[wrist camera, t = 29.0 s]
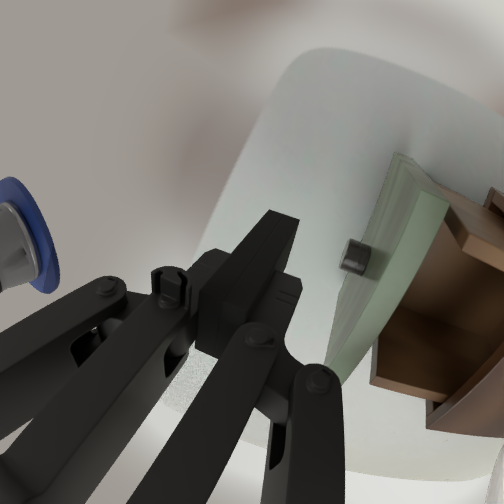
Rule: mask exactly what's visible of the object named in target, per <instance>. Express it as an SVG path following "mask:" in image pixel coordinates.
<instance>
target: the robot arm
mask: <svg viewBox="0 0 504 504" xmlns="http://www.w3.org/2000/svg"><path fill="white" fill-rule="evenodd" d="M299 221H300V220H299V219H296V218H293V217H290V216H287V215H284V214H281V213H278V212H275V211H272V210H268V211H267V213H266V214H265V215H264V216H263V217H262V218H261V219H260V221H259V222H258V223H257V224H256V225H255V226H254V227H253V229H252V230H251V231H250V232H249V233H248V234H247V236H246V237H245V238H244V239H243V240H242V241H241V243H240V244H239V245H238V246H237V247H236V248H235V250H234V251H233V252H232V253H231V254H230V253H227V252H224V251H222V250H219V249H216V248H215V249H212V250H210V251H207V252H205V253H204V254H203V255H202V256H201V257H200V258H199V259H198V260H197V261H196V262H195V263H194V264H193V265H192V267H190V268H189V269H188V270H187V271H185V270H183V269H182V268H178V267H174V266H164V267H160V268H157V269H155V270H153V271H152V272H151V280H152V281H151V283H152V293H151V294H150V295H147V294H140V293H135V292H130V291H127V288H126V284H125V282H124V281H123V280H122V279H120V278H118V277H114V276H103V277H100V278H97V279H95V280H93V281H91V282H90V283H88V284H86V285H84V286H82V287H80V288H78V289H76V290H74V291H73V292H71V293H69V294H67V295H65V296H64V297H62V298H60V299H58V300H56V301H55V302H53V303H51V304H49V305H47V306H46V307H44V308H42V309H40V310H39V311H37V312H35V313H33V314H32V315H30V316H28V317H26V318H25V319H23V320H22V321H20V322H18V323H16V324H15V325H13V326H11V327H9V328H8V329H6V330H4V331H3V332H1V333H0V440H2V439H3V438H5V437H6V436H8V435H9V434H10V433H12V432H13V431H15V430H16V429H18V428H19V427H21V426H22V425H24V424H25V423H26V422H28V421H30V420H31V419H32V418H33V420H32V421H31V422H30V423H29V424H28V426H27V427H26V428H25V429H24V430H23V431H22V433H21V434H20V435H19V436H18V437H17V438H16V440H15V441H14V442H13V443H12V444H11V446H10V447H9V448H8V449H7V451H5V452H4V453H3V454H1V455H0V504H85V503H86V501H87V500H88V498H89V497H90V496H91V494H92V493H93V491H94V490H95V488H96V487H97V486H98V484H99V483H100V482H101V480H102V479H103V478H104V476H105V475H106V473H107V472H108V471H109V469H110V468H111V466H112V465H113V464H114V462H115V461H116V459H117V458H118V457H119V455H120V454H121V452H122V451H123V450H124V448H125V447H126V445H127V444H128V442H129V441H130V440H131V438H132V437H133V435H134V434H135V433H136V431H137V430H138V428H139V427H140V426H141V424H142V422H143V421H144V420H145V418H146V417H147V415H148V414H149V413H150V411H151V410H152V408H153V407H154V406H155V404H156V403H157V401H158V400H159V399H160V397H161V396H162V394H163V393H164V391H165V390H166V389H167V387H168V386H169V384H170V383H171V381H172V380H173V379H174V377H175V376H176V374H177V373H178V371H179V370H180V369H181V367H182V366H183V364H184V363H185V361H186V360H187V357H188V355H189V348H190V346H191V345H192V343H193V342H194V341H195V349H197V350H199V351H201V352H204V353H206V354H208V355H210V356H212V357H215V358H217V359H219V360H218V361H217V363H216V364H215V366H214V368H213V369H212V371H211V373H210V374H209V376H208V377H207V379H206V381H205V382H204V384H203V386H202V387H201V389H200V390H199V392H198V394H197V395H196V397H195V398H194V400H193V402H192V403H191V405H190V406H189V408H188V410H187V411H186V413H185V414H184V416H183V418H182V419H181V421H180V422H179V424H178V425H177V427H176V429H175V430H174V432H173V433H172V435H171V436H170V438H169V440H168V441H167V443H166V444H165V446H164V447H163V449H162V450H161V452H160V453H159V455H158V457H157V458H156V459H155V461H154V463H153V464H152V466H151V467H150V469H149V470H148V472H147V473H146V475H145V476H144V478H143V480H142V481H141V482H140V484H139V485H138V487H137V488H136V490H135V491H134V493H133V494H132V496H131V497H130V499H129V500H128V501H127V503H126V504H206V502H207V501H208V499H209V497H210V495H211V493H212V491H213V490H214V488H215V486H216V484H217V482H218V480H219V478H220V476H221V474H222V472H223V470H224V468H225V466H226V465H227V463H228V461H229V459H230V457H231V454H232V452H233V450H234V448H235V446H236V444H237V442H238V440H239V438H240V436H241V434H242V432H243V430H244V428H245V426H246V424H247V421H248V419H249V417H250V415H251V413H252V411H253V408H254V407H255V408H256V409H257V410H259V411H260V412H261V413H263V414H264V415H265V416H266V417H268V418H269V419H270V420H271V421H270V430H269V439H268V448H267V456H266V465H265V473H264V481H263V488H262V497H261V503H260V504H345V445H344V420H343V402H342V388H341V383H340V379H339V377H338V376H337V375H336V373H335V372H334V371H333V370H331V369H330V368H328V367H327V366H324V365H321V364H307V365H305V366H304V365H303V364H302V363H300V362H299V361H297V360H296V359H295V358H294V357H293V356H291V355H290V353H289V352H288V350H287V349H286V346H285V342H284V338H285V334H286V331H287V329H288V326H289V323H290V321H291V318H292V316H293V313H294V311H295V308H296V305H297V303H298V300H299V297H300V295H301V292H302V289H303V287H302V283H301V279H300V278H297V277H294V276H291V275H289V274H286V273H283V272H284V270H285V268H286V264H287V261H288V258H289V255H290V251H291V248H292V245H293V241H294V238H295V235H296V231H297V228H298V225H299ZM41 273H42V259H41V254H40V251H39V247H38V244H37V241H36V239H35V236H34V234H33V231H32V229H31V227H30V225H29V223H28V221H27V219H26V217H25V216H24V214H23V213H22V211H21V210H20V208H19V207H18V206H17V205H16V204H15V203H14V202H13V201H11V200H7V201H5V202H3V203H1V204H0V293H1V292H2V291H4V290H5V289H7V288H11V287H14V286H17V285H21V284H24V283H27V282H31V281H33V280H35V279H36V278H37V277H39V276H40V275H41ZM95 327H97V328H96V329H93V328H95ZM92 329H93V330H92Z"/></svg>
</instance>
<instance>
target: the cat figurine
mask: <svg viewBox="0 0 504 504" xmlns="http://www.w3.org/2000/svg"><path fill="white" fill-rule="evenodd" d="M485 504H504V445H503V447H502V449H501V450H500V453H499V455H498V458H497V460H496V463H495V466H494V469H493V472H492V476H491V479H490V484H489V487H488V492H487V496H486V501H485Z"/></svg>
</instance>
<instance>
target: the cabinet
mask: <svg viewBox="0 0 504 504" xmlns="http://www.w3.org/2000/svg"><path fill="white" fill-rule="evenodd" d="M483 207H485V208H486V209H488V210H490V211H492V212H493V213H495V214H497V215H499V216H500V217H502V218H504V194H503V193H501V192H500V191H498V190H496V189H495V188H493V187H491V189H490V191H489V194H488V196H487V199H486V201H485V204H484V206H483ZM426 429H430V430H436V431H442V432H449V433H456V434H464V435H473V436H483V437H495V438H504V341H503V342H502V344H501V345H500V346H499V347H498V348H497V350H496V351H495V352H494V353H493V354H492V355H491V356H490V358H489V359H488V360H487V361H486V362H485V363H484V364H483V365H482V366H481V367H480V368H479V369H478V370H477V372H476V373H475V374H474V375H473V376H472V377H471V378H470V379H469V380H468V381H467V382H466V383H465V384H464V385H463V386H462V387H461V388H459V389H458V390H457V391H456V392H455V393H454V394H453V395H452V396H451V397H450V398H449V399H448V400H446V401H445V402H444V403H440V402H436V401H431V400H427V399H426Z"/></svg>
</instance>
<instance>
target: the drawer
mask: <svg viewBox="0 0 504 504" xmlns="http://www.w3.org/2000/svg"><path fill="white" fill-rule="evenodd" d="M339 268H340V269H342V270H345V271H347V272H348V274H347V276H346V279H345V281H344V283H343V285H342V287H341V289H340V292H339V295H338V300H337V305H336V311H335V316H334V321H333V325H332V330H331V335H330V339H329V344H328V348H327V353H326V357H325V361H324V366H327V367H328V368H330V369H331V370H333V371H334V372H335V373H336V375H337V376H338V377H339V379H340V383H341V386H342V385H343V383H344V382H345V381H346V380H347V378H348V377H349V376H350V374H351V373H352V372H353V371H354V369H355V368H356V367H357V365H358V364H359V362H360V361H361V360H362V358H363V357H364V356H365V354H366V353H367V351H368V350H369V349H370V347H371V346H372V344H373V348H372V361H371V373H370V383H369V384H370V385H374V386H377V387H381V388H384V389H388V390H391V391H395V392H399V393H403V394H407V395H411V396H415V397H419V398H423V399H427V400H431V401H436V402H440V403H444V402H445V401H446V400H448V399H449V398H450V397H451V396H452V395H453V394H454V393H455V392H456V391H457V390H458V389H459V388H461V387H462V386H463V385H464V384H465V383H466V382H467V381H468V380H469V379H470V378H471V377H472V376H473V375H474V374H475V373H476V372H477V370H478V369H479V368H480V367H481V366H482V365H483V364H484V363H485V362H486V361H487V360H488V359H489V358H490V356H491V355H492V354H493V353H494V352H495V351H496V350H497V348H498V347H499V346H500V345H501V344H502V342H503V341H504V218H502V217H500V216H499V215H497V214H495V213H493V212H492V211H490V210H488V209H486V208H485V207H483V206H481V205H479V204H477V203H475V202H474V201H472V200H470V199H468V198H466V197H464V196H462V195H460V194H458V193H456V192H454V191H452V190H450V189H448V188H446V187H444V186H442V185H440V184H437V183H435V182H433V181H432V180H431V179H430V178H429V176H428V175H427V174H426V173H425V172H424V171H423V170H422V169H421V167H420V166H419V165H418V164H417V163H416V162H415V161H414V160H413V159H412V158H409V157H407V156H404V155H402V154H399V153H397V152H394V155H393V158H392V161H391V164H390V167H389V170H388V173H387V176H386V179H385V182H384V185H383V187H382V190H381V193H380V196H379V198H378V201H377V204H376V206H375V209H374V212H373V214H372V217H371V219H370V222H369V225H368V227H367V230H366V232H365V234H364V237H363V239H362V242H359V241H356V240H353V239H349V240H348V241H347V243H346V246H345V248H344V251H343V254H342V257H341V260H340V264H339Z"/></svg>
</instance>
